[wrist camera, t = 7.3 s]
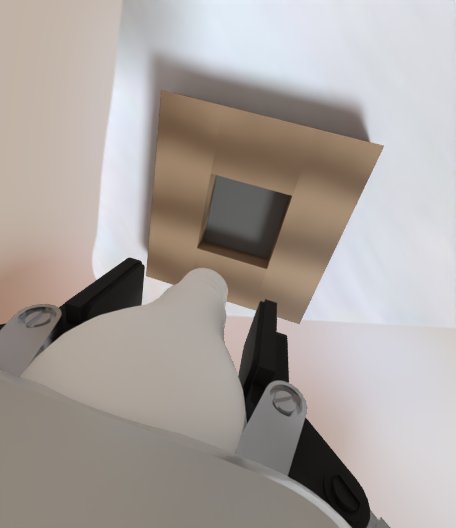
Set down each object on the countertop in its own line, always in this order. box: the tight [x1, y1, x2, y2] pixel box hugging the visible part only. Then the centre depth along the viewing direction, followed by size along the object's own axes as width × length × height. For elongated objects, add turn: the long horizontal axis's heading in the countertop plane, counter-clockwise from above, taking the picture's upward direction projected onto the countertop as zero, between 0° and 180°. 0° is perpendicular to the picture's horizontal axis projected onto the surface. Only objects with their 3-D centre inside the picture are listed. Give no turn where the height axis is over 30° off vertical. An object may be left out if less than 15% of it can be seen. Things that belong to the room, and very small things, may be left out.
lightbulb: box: [20, 268, 247, 453], centre depth 9 cm, size 6×6×11 cm
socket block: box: [146, 90, 384, 324], centre depth 25 cm, size 18×18×3 cm
